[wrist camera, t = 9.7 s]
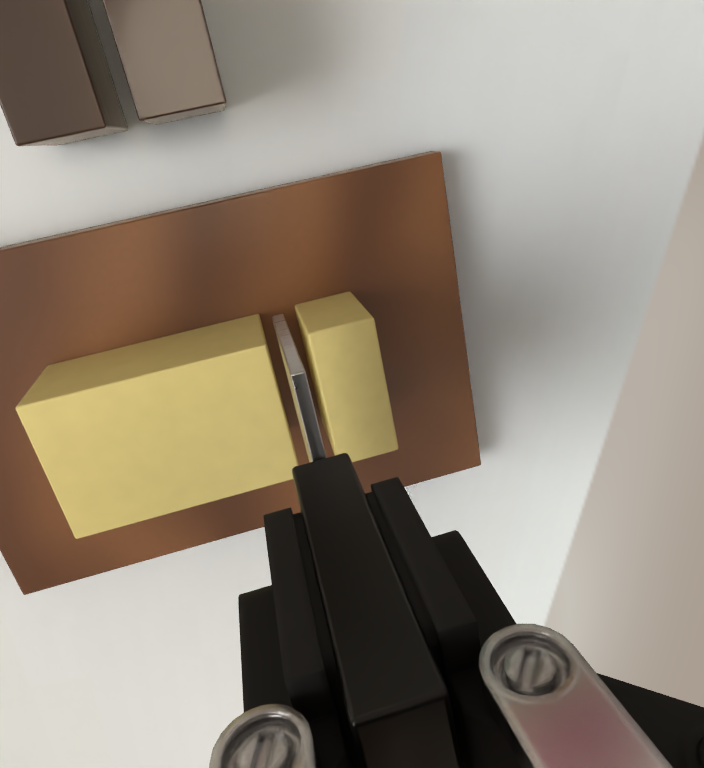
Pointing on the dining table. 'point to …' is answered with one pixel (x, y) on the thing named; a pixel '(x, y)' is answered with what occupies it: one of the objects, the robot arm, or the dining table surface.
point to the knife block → (102, 67)
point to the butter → (160, 425)
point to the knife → (367, 607)
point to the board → (228, 302)
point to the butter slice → (347, 375)
